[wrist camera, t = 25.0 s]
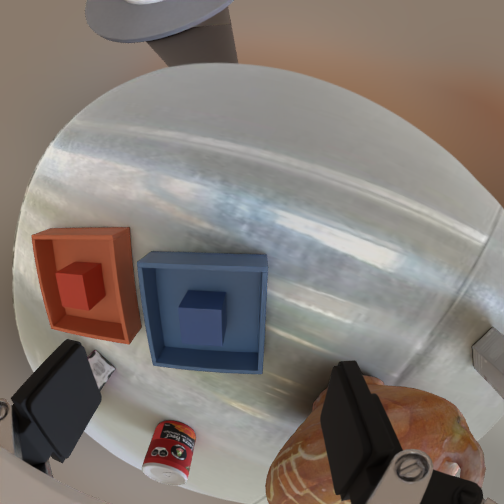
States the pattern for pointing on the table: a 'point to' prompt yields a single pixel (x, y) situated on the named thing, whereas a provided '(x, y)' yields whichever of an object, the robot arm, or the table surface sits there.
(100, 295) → the red block
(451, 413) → the jug
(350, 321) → the table surface
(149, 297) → the blue bin
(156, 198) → the table surface
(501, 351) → the cosmetic box
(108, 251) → the rust bin
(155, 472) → the canned food
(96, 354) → the candy bar box
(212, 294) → the blue block
